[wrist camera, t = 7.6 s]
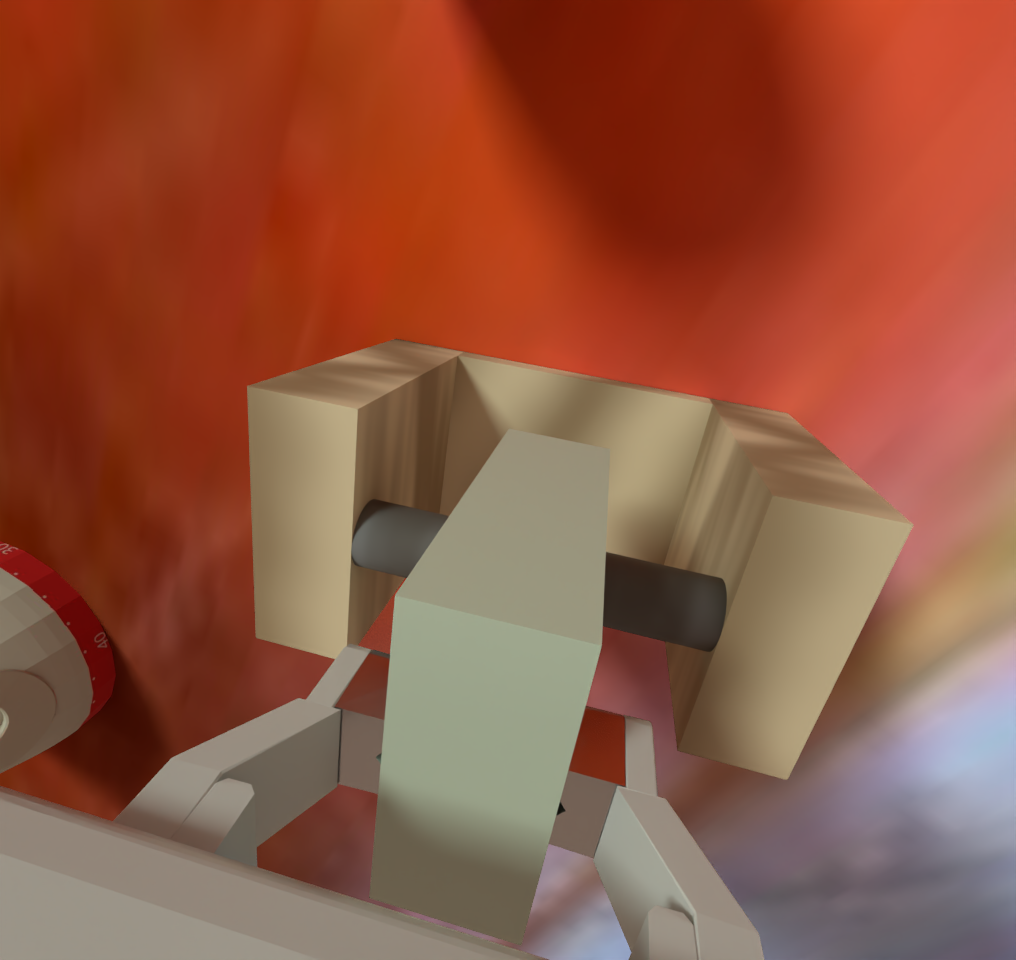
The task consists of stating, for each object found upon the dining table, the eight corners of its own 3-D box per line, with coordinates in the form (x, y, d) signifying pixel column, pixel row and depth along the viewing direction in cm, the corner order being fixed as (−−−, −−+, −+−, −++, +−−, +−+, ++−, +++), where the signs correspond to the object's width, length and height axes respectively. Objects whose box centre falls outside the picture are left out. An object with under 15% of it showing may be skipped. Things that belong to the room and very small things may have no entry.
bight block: (610, 449, 16) (601, 645, 8) (564, 642, 18) (521, 945, 10) (509, 428, 16) (395, 595, 8) (478, 621, 19) (369, 897, 11)
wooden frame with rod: (787, 413, 21) (913, 524, 12) (725, 586, 24) (787, 780, 15) (395, 338, 23) (247, 386, 14) (384, 508, 26) (256, 637, 17)
